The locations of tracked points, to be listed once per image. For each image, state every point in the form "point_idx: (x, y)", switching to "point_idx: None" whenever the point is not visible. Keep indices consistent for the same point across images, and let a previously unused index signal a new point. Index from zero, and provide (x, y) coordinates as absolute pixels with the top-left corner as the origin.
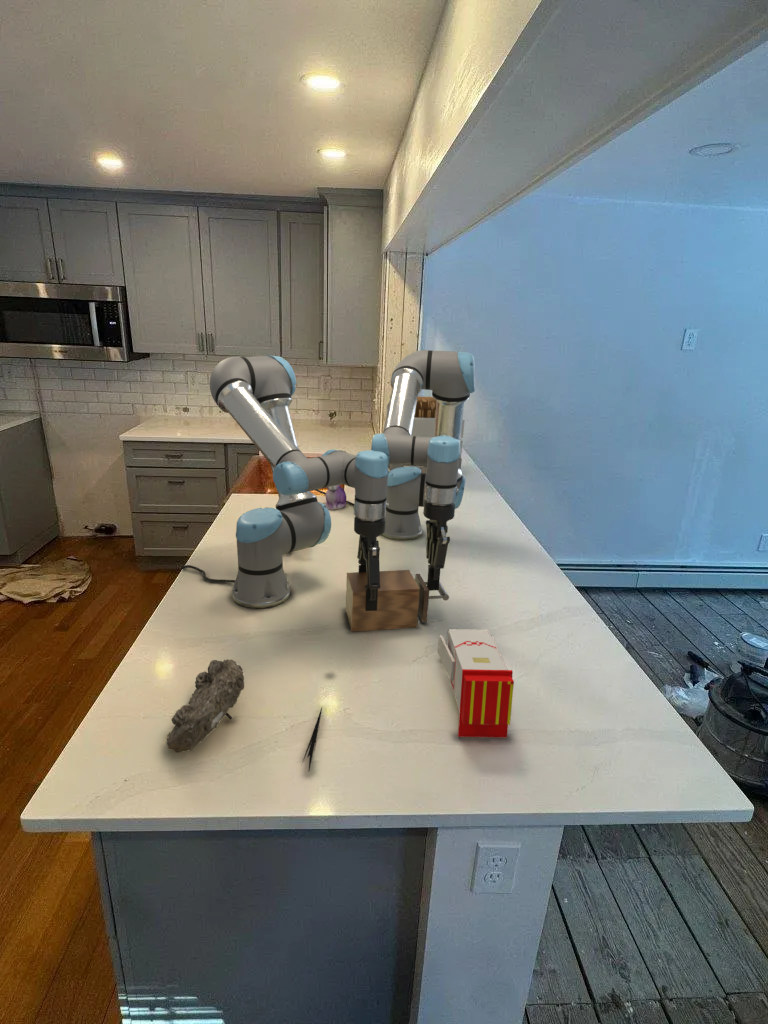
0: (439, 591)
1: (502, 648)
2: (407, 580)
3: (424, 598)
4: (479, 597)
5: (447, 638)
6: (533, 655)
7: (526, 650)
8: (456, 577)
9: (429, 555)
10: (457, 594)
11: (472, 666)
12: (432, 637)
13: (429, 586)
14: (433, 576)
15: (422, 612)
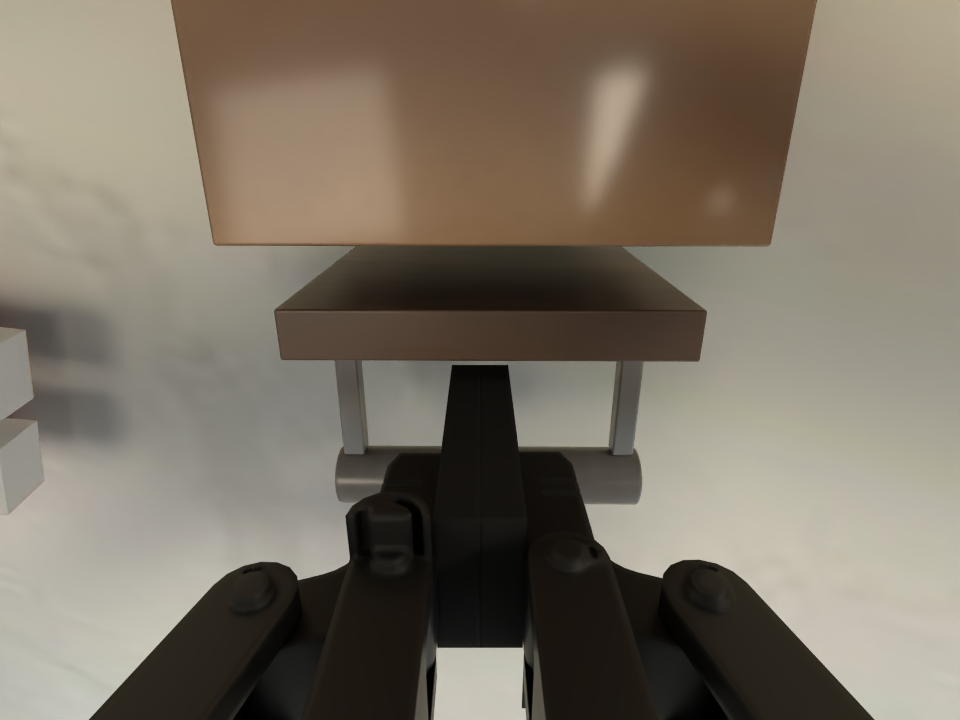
0: None
1: (141, 573)
2: (449, 137)
3: (303, 289)
4: None
5: (16, 332)
6: (98, 664)
7: (134, 654)
8: (900, 595)
9: (570, 664)
10: (700, 542)
11: None
12: (227, 267)
13: (449, 390)
14: (385, 483)
15: (359, 255)
